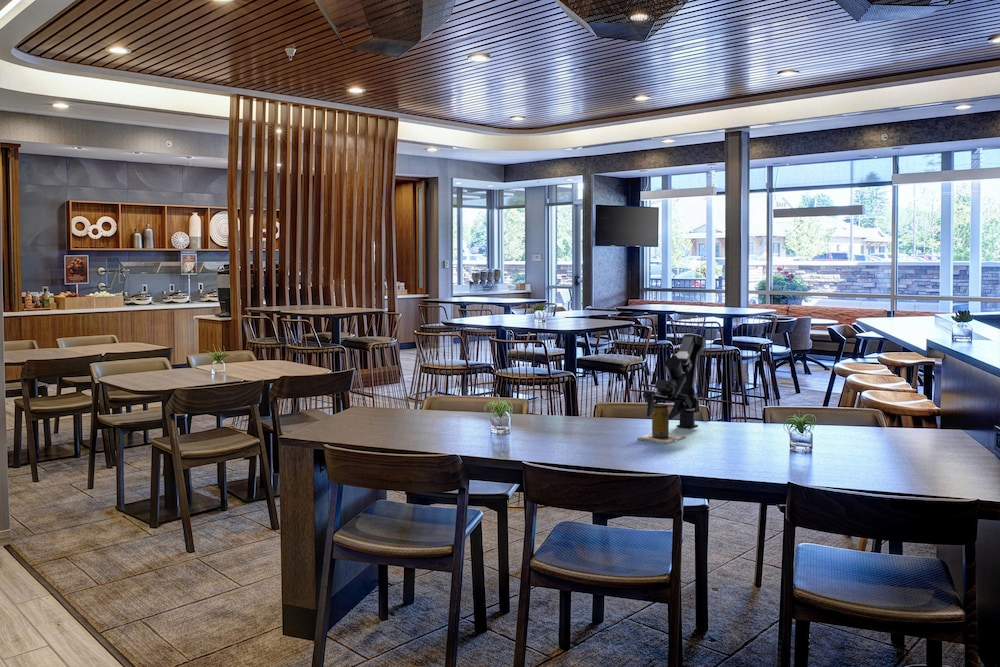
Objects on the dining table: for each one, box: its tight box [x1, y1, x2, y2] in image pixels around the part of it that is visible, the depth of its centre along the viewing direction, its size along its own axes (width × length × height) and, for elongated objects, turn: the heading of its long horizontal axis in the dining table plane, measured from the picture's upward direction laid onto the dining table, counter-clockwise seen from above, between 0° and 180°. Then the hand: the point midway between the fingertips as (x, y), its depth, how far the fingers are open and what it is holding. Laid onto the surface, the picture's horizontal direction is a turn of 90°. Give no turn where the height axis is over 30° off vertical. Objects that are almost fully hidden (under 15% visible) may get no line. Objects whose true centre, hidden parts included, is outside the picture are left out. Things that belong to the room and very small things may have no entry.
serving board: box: [636, 433, 686, 445], centre depth 297 cm, size 14×12×1 cm
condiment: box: [647, 403, 676, 440], centre depth 295 cm, size 7×8×12 cm
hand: (658, 417), depth 295 cm, fingers open, 9 cm apart
